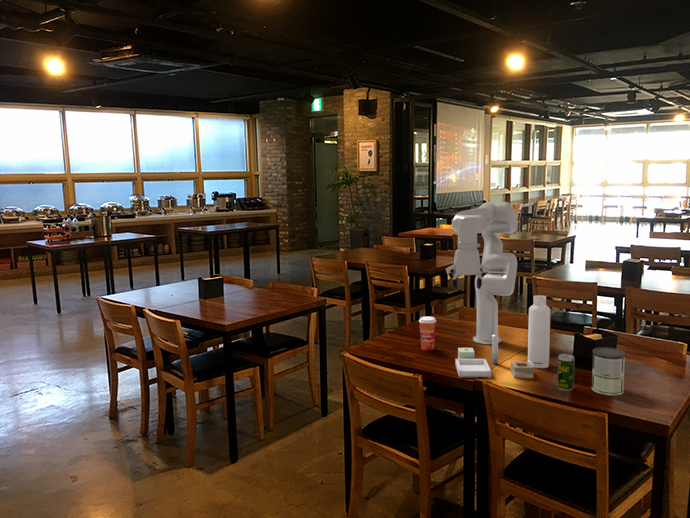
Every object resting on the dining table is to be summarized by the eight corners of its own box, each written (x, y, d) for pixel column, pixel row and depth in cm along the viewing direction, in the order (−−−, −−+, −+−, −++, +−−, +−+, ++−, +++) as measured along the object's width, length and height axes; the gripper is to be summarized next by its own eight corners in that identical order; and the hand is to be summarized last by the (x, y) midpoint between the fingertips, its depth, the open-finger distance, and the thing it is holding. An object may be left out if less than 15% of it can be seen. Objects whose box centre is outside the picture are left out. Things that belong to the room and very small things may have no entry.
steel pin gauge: (491, 362, 225) (491, 334, 223) (497, 362, 224) (497, 334, 223) (492, 364, 222) (492, 335, 221) (498, 364, 222) (498, 335, 220)
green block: (458, 359, 231) (458, 347, 230) (472, 359, 230) (472, 347, 229) (459, 363, 225) (459, 351, 224) (474, 363, 224) (474, 351, 223)
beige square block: (510, 371, 213) (510, 361, 213) (529, 371, 213) (529, 361, 212) (514, 377, 207) (514, 367, 206) (533, 378, 206) (533, 367, 205)
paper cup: (417, 350, 244) (416, 319, 242) (421, 345, 251) (421, 315, 249) (434, 352, 241) (434, 320, 239) (438, 347, 248) (438, 316, 246)
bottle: (523, 363, 223) (524, 295, 219) (538, 360, 226) (540, 293, 222) (537, 369, 215) (539, 299, 212) (553, 366, 218) (555, 297, 215)
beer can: (560, 384, 198) (561, 352, 197) (575, 388, 195) (576, 355, 193) (555, 389, 194) (555, 356, 193) (570, 392, 191) (571, 359, 189)
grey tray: (455, 364, 223) (455, 358, 223) (485, 364, 222) (485, 358, 222) (459, 377, 209) (459, 370, 208) (491, 377, 207) (491, 371, 207)
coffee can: (586, 385, 197) (587, 347, 195) (614, 384, 198) (615, 346, 196) (600, 396, 187) (601, 356, 185) (629, 395, 187) (631, 355, 185)
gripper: (485, 245, 226) (485, 286, 228) (444, 246, 225) (443, 287, 227) (491, 247, 218) (490, 289, 220) (448, 248, 218) (447, 290, 220)
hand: (466, 288), depth 224 cm, fingers open, 9 cm apart
